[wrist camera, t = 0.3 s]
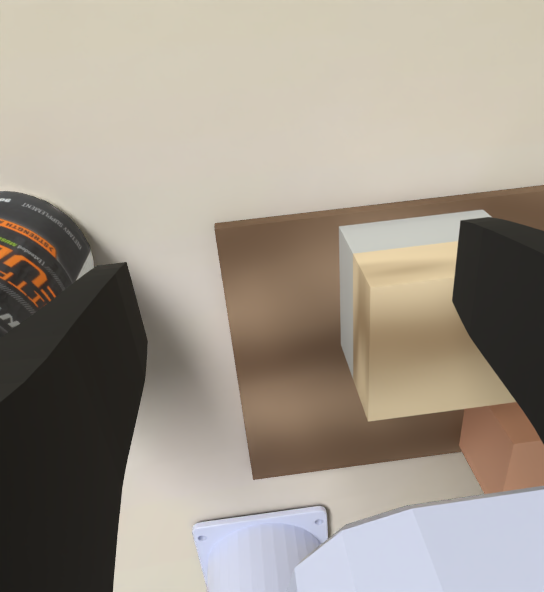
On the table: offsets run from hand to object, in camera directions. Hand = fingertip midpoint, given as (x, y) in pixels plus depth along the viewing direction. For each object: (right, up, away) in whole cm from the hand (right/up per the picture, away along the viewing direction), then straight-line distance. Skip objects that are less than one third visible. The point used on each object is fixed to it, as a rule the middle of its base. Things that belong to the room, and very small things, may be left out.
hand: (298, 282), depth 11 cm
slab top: (+6, -1, +9) cm, 11 cm away
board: (+8, -3, +14) cm, 16 cm away
